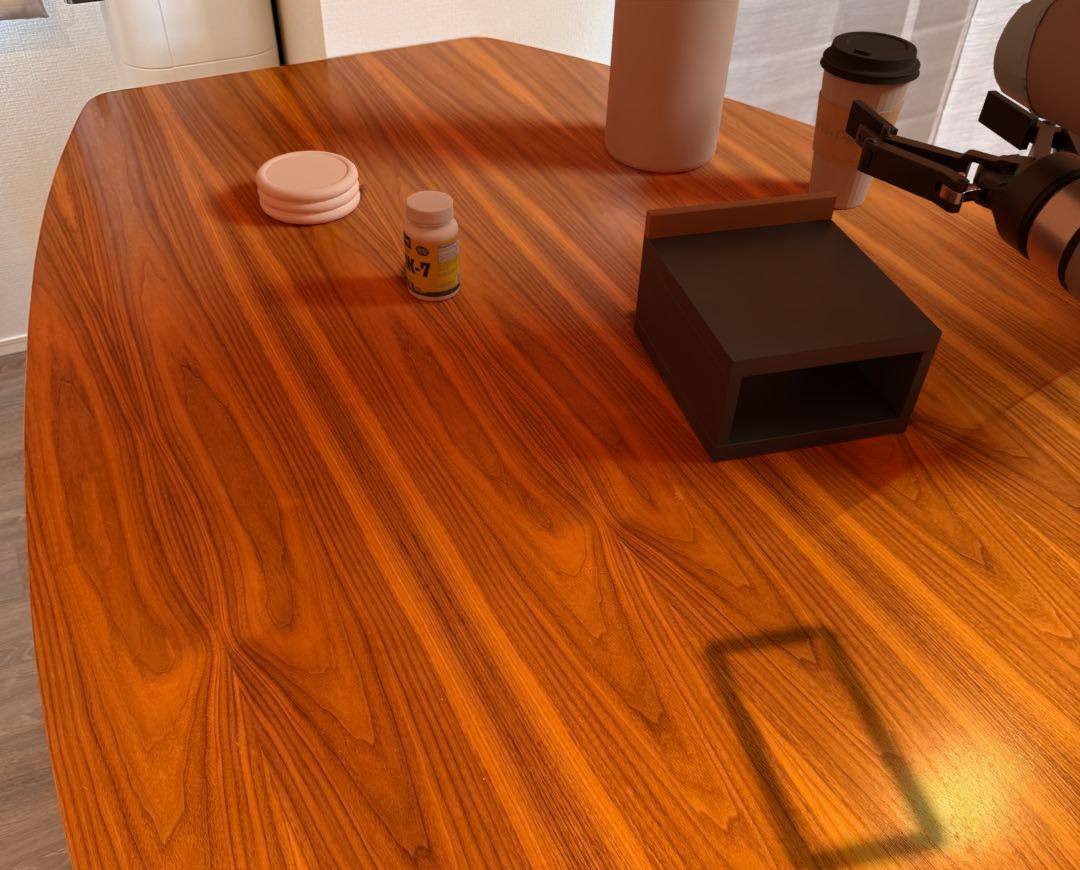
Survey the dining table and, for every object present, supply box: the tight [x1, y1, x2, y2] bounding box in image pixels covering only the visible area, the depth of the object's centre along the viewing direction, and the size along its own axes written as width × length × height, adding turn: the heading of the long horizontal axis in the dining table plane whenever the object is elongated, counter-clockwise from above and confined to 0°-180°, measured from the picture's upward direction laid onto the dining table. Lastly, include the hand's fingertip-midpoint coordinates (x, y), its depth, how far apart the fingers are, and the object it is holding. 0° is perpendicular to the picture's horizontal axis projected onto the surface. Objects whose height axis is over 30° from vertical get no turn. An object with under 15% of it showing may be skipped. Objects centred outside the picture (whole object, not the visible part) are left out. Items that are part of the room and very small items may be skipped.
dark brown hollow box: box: [633, 191, 944, 463], centre depth 75 cm, size 18×16×11 cm
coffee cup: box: [808, 30, 922, 210], centre depth 98 cm, size 9×9×15 cm
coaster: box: [254, 150, 361, 226], centre depth 97 cm, size 10×10×4 cm
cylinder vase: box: [604, 0, 740, 174], centre depth 101 cm, size 12×12×25 cm
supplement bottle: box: [402, 189, 461, 302], centre depth 85 cm, size 5×5×8 cm
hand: (920, 110), depth 87 cm, fingers open, 13 cm apart
